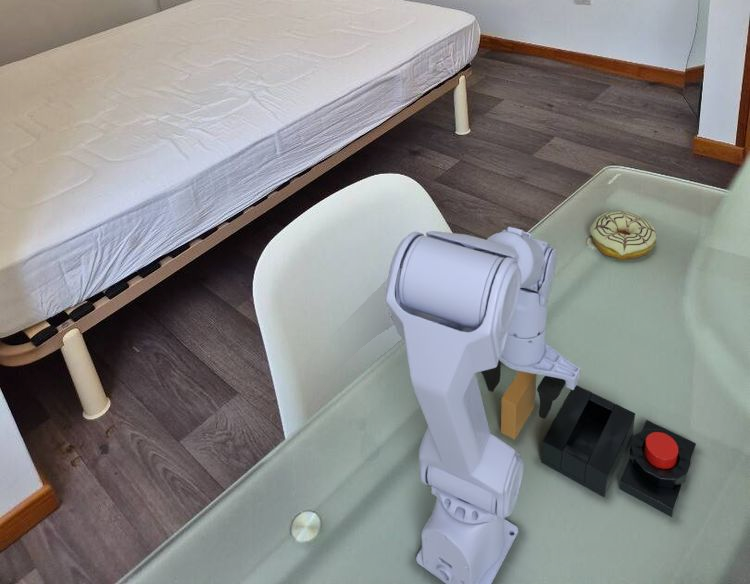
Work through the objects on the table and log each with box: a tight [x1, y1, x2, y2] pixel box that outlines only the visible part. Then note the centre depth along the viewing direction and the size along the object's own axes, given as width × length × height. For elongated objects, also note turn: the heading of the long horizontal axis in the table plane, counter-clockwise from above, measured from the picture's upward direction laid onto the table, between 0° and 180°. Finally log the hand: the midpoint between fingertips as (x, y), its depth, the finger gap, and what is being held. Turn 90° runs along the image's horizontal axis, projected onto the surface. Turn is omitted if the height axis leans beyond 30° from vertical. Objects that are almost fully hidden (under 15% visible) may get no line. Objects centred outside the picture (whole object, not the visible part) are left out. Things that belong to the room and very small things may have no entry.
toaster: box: [540, 384, 636, 498], centre depth 85 cm, size 10×8×4 cm
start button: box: [644, 432, 678, 469], centre depth 82 cm, size 4×4×2 cm
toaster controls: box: [618, 419, 697, 518], centre depth 83 cm, size 10×6×3 cm, turn 143°
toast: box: [500, 371, 537, 441], centre depth 89 cm, size 6×2×6 cm, turn 143°
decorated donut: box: [589, 210, 657, 260], centre depth 120 cm, size 10×11×4 cm
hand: (518, 398), depth 89 cm, fingers open, 7 cm apart
